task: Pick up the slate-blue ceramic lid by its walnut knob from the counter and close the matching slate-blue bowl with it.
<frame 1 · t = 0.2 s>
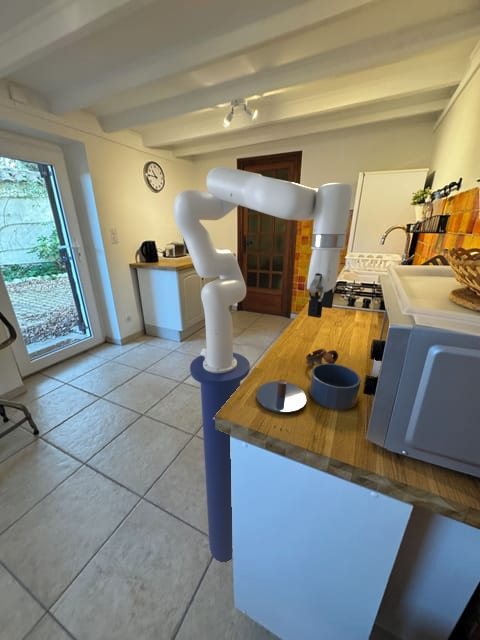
hand: (320, 311, 66), 26 cm above the table, tool pointing down, fingers open, 9 cm apart
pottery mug: (322, 368, 90), on the table
bowl: (332, 395, 75), on the table
bowl lid: (281, 396, 74), point 1 cm above the table
can: (382, 387, 79), on the table
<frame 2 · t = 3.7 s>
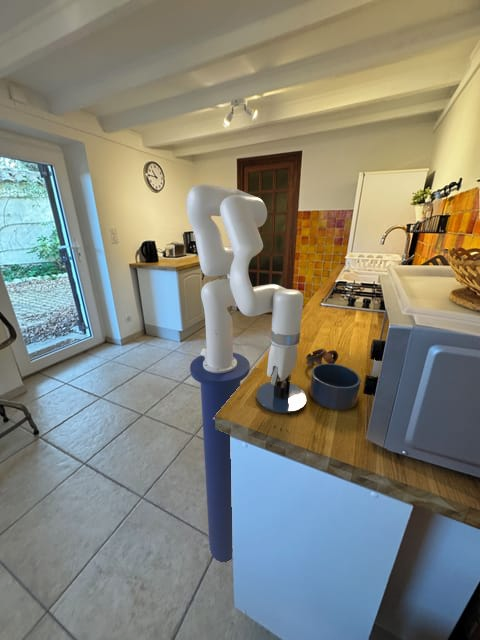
hand: (281, 394, 73), 1 cm above the table, tool pointing down, fingers closed on bowl lid, 2 cm apart
bowl lid: (281, 396, 74), point 1 cm above the table, touching gripper
everything else where it was.
when the fingers open (8 cm above the table, at t = 9.2 s): bowl lid stays where it is, resting on bowl.
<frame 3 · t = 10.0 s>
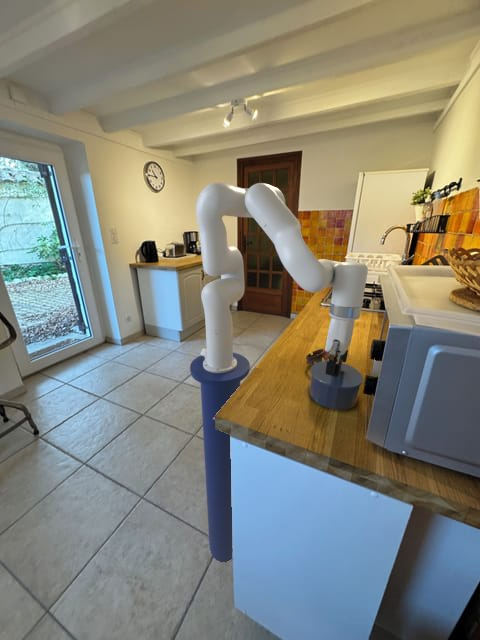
hand: (336, 367, 72), 9 cm above the table, tool pointing down, fingers open, 9 cm apart
bowl lid: (335, 374, 73), point 7 cm above the table, touching bowl
everything else where it was.
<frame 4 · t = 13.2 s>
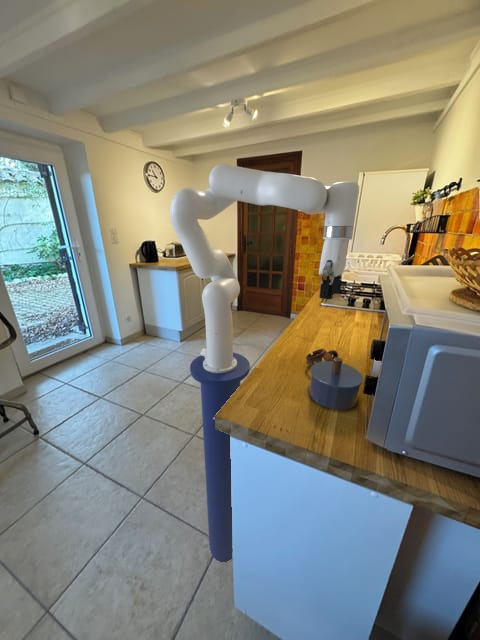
hand: (330, 295, 75), 28 cm above the table, tool pointing down, fingers open, 9 cm apart
nothing on the table moved.
at the end: bowl lid 0.1 cm off-centre on the bowl, point 7.0 cm above the bowl's base; bowl lid tilted 0°; the gripper is holding nothing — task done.
